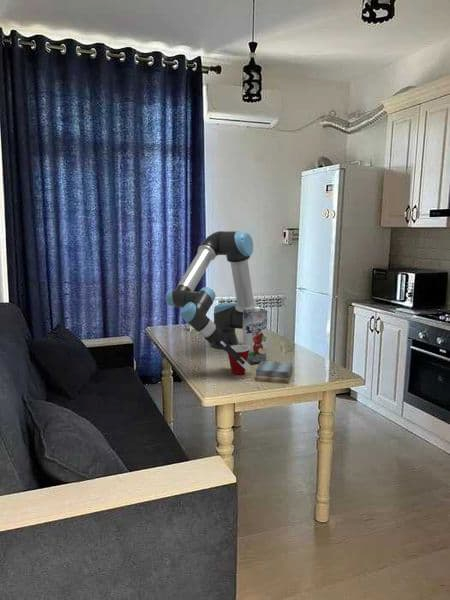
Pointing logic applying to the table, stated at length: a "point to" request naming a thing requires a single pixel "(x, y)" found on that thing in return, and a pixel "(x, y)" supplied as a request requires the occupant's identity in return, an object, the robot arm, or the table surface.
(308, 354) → the table surface
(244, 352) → the plastic cup
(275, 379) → the build plate
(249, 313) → the juice carton
